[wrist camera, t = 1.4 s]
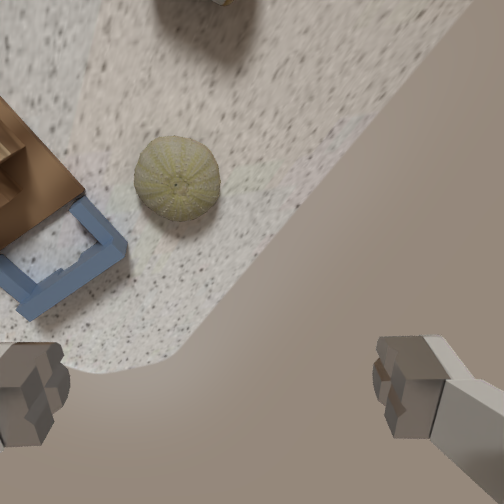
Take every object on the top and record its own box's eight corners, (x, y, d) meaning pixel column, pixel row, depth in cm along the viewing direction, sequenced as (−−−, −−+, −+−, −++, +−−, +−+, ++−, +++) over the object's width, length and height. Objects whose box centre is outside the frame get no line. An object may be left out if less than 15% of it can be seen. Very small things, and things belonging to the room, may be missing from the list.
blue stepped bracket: (-9, 261, 42) (-25, 278, 39) (84, 195, 41) (77, 206, 38) (40, 302, 46) (30, 321, 42) (127, 242, 45) (124, 256, 41)
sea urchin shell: (170, 240, 44) (138, 218, 36) (144, 186, 46) (109, 155, 38) (239, 200, 43) (221, 169, 36) (209, 148, 46) (187, 108, 38)
